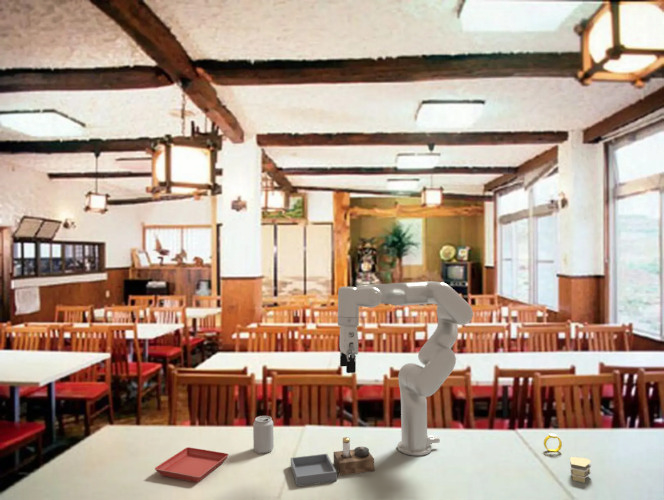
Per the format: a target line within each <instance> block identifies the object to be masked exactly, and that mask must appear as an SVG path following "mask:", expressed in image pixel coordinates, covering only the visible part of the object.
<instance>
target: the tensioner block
mask: <svg viewBox="0 0 664 500" xmlns="http://www.w3.org/2000/svg"><path fill="white" fill-rule="evenodd" d="M333 466H334V468H335V470H336V472H338V474H339V476H346V475H353V474H360V473H366V472H367V473H368V472H374V471H375V458H374V457H373V455H372V454H371V452H370V449H369V448H368V447H366V446H357V447H355V448H354V449H350V458H346V459H343V450H338V451H337V450H336V451H333Z"/></svg>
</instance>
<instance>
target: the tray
mask: <svg viewBox="0 0 664 500" xmlns="http://www.w3.org/2000/svg"><path fill="white" fill-rule="evenodd" d="M290 469H291V472H292V475H293V476H292V477H294V481H295V485H296V487H302V486H311V485H318V484H323V483H324V484H325V483H332V482H337V481H338V479H337V478H338V477H337V472H338V471H337V469H336V467H335V465H334V463H333V462H332V460H331V458H330V456H329V454H328V453H320V454H312V455H303V456H296V457H290Z"/></svg>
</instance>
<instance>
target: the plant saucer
mask: <svg viewBox="0 0 664 500" xmlns="http://www.w3.org/2000/svg"><path fill="white" fill-rule="evenodd" d="M228 457H229V453H226V452H220V451H215V450H209V449H208V450H207V449H202V448H195V447H189V446H188V447H185V448H183V449H182V450H181V451H179V452H178V453H176V454H174V455H173V456H171V457H170V458H168V459H166V460H164V461H163V462H161V463H160V464H159V465H157V466H155V467H154V470H155V471H156V473H158V474H159V475H161V476H162V477H166V478H172V479H177V480H183V481H189V482H193V483H199V482H201V481H202V480H203V479H204V478H205V477H207V476H208V475H209V474H210V473H212V472H213V471H214V470H216V469H217V468H218V467H219V466H221V465H222V464H223V463H224V462H225V461H226V459H228Z"/></svg>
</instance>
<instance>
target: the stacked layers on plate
mask: <svg viewBox="0 0 664 500" xmlns="http://www.w3.org/2000/svg"><path fill="white" fill-rule="evenodd" d="M569 460H570V462H569V463H570V468H569V469H570V474H571V476H572V481H576V482H581V483H585V481H586V479H587V477H588V476H590V475H591V474H592V470H590V469H591V467H592V464H591V462H592V460H590V459H589V458H586V457H578V456H576V457H575V456H571V457H569Z"/></svg>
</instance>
